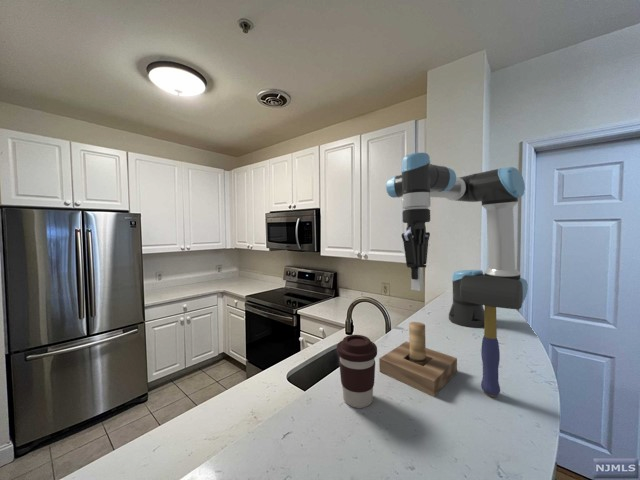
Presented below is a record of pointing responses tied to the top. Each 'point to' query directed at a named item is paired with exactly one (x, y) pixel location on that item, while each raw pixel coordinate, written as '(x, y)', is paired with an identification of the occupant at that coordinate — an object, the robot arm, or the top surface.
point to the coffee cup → (357, 369)
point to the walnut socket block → (419, 369)
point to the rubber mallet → (491, 318)
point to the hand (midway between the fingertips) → (417, 289)
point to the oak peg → (417, 343)
